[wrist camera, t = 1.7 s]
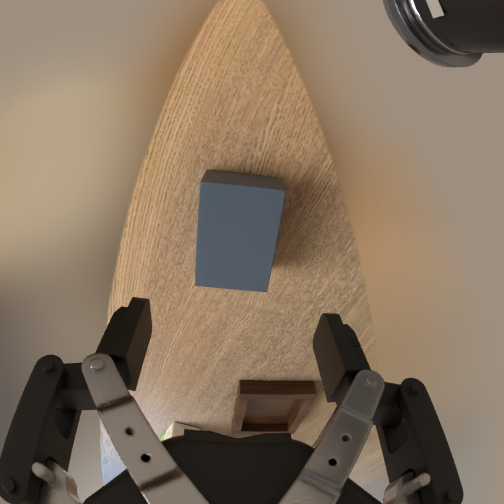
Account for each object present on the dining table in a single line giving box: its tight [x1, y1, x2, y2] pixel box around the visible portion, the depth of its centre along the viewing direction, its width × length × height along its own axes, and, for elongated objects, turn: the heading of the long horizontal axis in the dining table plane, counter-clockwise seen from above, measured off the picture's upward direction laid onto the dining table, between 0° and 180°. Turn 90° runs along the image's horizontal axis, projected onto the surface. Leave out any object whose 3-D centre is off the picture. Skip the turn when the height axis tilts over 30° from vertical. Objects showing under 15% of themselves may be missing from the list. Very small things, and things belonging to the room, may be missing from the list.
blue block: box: [195, 170, 286, 292], centre depth 21 cm, size 8×6×4 cm
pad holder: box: [232, 380, 316, 435], centre depth 35 cm, size 12×9×2 cm
